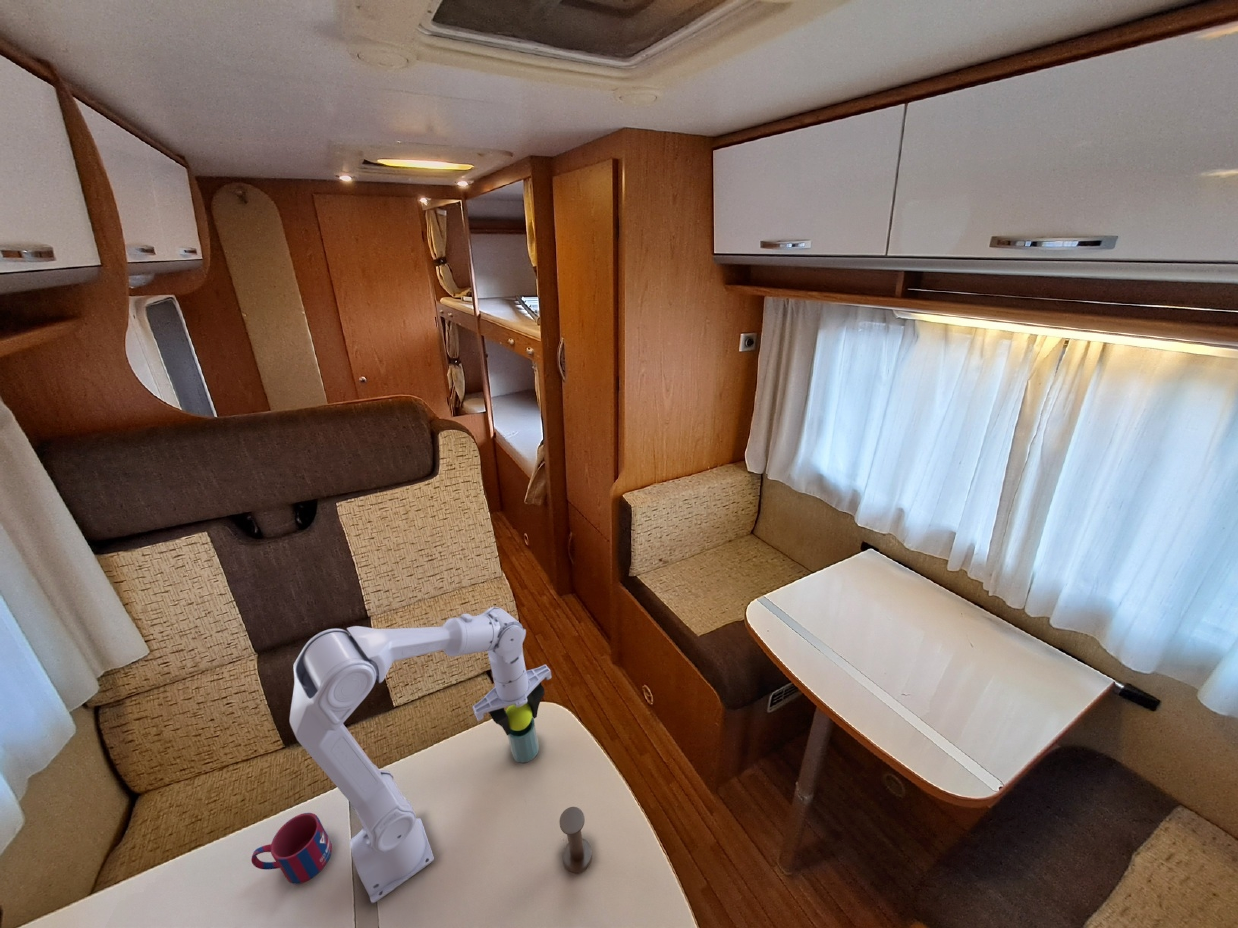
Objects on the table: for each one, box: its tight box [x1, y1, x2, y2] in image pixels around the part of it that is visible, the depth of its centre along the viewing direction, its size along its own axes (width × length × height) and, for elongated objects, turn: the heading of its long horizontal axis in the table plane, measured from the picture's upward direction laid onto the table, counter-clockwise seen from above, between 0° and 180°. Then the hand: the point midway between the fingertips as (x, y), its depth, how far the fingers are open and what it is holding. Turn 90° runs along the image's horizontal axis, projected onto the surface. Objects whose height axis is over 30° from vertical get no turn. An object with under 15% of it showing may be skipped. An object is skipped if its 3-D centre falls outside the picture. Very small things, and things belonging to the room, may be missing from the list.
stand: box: [558, 806, 593, 874], centre depth 75 cm, size 5×5×10 cm
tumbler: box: [507, 717, 540, 764], centre depth 93 cm, size 5×5×7 cm
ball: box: [505, 703, 532, 731], centre depth 90 cm, size 5×5×5 cm
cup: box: [250, 812, 333, 885], centre depth 78 cm, size 7×10×7 cm
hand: (519, 722), depth 91 cm, fingers closed on ball, 5 cm apart
